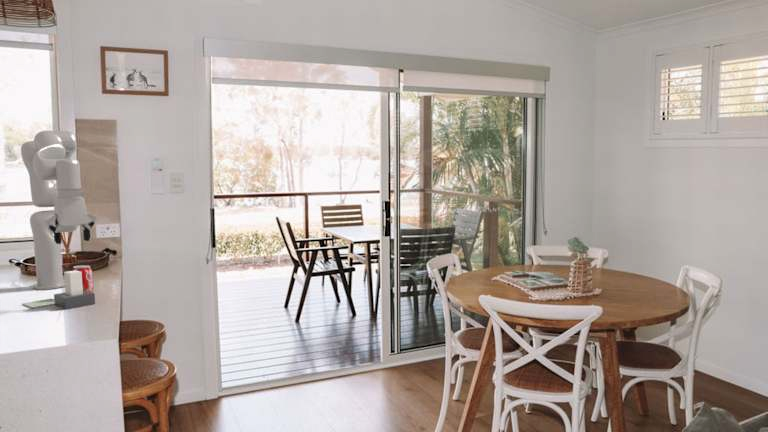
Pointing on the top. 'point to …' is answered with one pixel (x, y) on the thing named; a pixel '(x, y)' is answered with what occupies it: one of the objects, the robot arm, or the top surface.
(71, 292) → the plug
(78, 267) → the soda can
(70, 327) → the top surface
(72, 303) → the grey square socket block
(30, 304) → the mat
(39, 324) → the top surface
